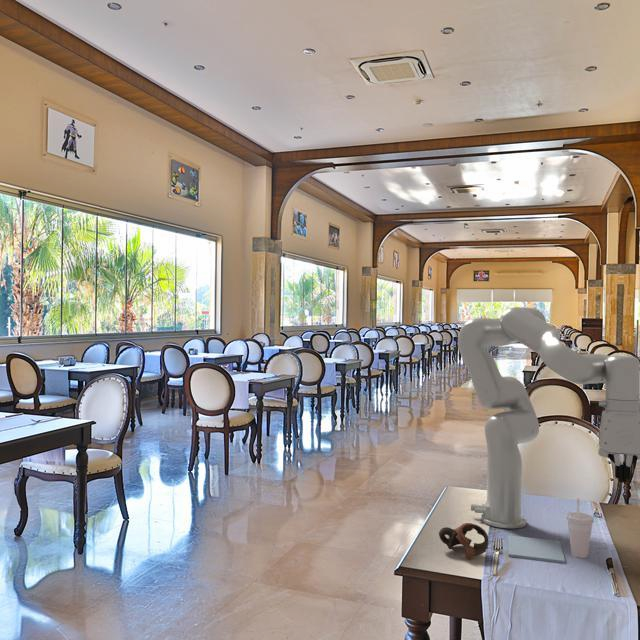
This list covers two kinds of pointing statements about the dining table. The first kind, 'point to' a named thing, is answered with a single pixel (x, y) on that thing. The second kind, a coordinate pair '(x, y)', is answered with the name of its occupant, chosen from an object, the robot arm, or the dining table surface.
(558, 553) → the mat
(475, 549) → the brown twisted looped piece
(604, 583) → the dining table surface
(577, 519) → the smoothie
